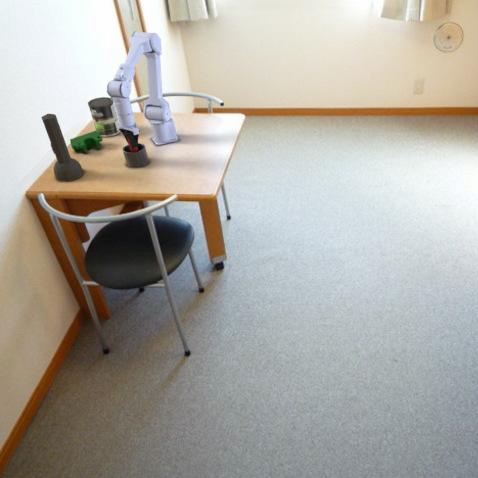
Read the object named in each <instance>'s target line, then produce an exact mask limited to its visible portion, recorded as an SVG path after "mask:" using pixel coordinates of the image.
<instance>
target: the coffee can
mask: <svg viewBox="0 0 478 478" xmlns="http://www.w3.org/2000/svg"><path fill="white" fill-rule="evenodd" d="M87 106H88V108H89V112H90V115H91V117H92V121H93V125H94V128H95V131H97V132H98V133H99V134H100V135H101V136H102V138H109V137H113V136H117V135H118V134H120V133H121V131H120V130H119V129H118V128H117V126H118V125H119V123H118V120H117V119H118V116H117V113H116V109H115V105H114V102H113V101H112V100H111V97H108V96H107V97H106V96H102V97H96V98H92V99H90V100H89V101H88V102H87Z"/></svg>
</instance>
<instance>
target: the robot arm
mask: <svg viewBox="0 0 478 478" xmlns="http://www.w3.org/2000/svg"><path fill="white" fill-rule="evenodd" d="M129 44H130V47H129V50H128V53H127V56H126V59H125V60H124V62H123V63H120V65H119V66H118V69H117V70H116V72H115V75H114V77H113V78H112V80H110V81H109V82H108V83H107V85H106V93H107V95H108V96H109V98H111V100H112V101H113V103H114V106H115V110H116V114H117V118H118V119H117V120H118V123H119V125H118V126H117V128H118V129H119V130H120V133H121V134H122V135H123V137H124V139H125V141H126V143H127V145H129V142H128V139H129V141H130V144H131V146H132V148H135V147H138V143H139V136H140V134H141V130H140V129H139V127H138V126H137V122H136V119H135V116H134V111H133V106H132V104H131V103H132V102H131V100H130V95H131V93H132V84H131V83H132V82H133V80H134V77H135V75H136V69H135V67H136V66H137V64H138V62H139V60H140V59H141V57H142V55H143V56H144V57H146V69H147V81H148V82H147V83H148V98H147V99H146V100H145V101H144V108H143V115H144V118H145V119H146V120H147V121H148V123H150V126H151V131H152V136H153V137H151V139H152V141H153V142H154V144H155V145H156V146H161V145H165V144H169V143H173V142H178V141H179V137H178V133H177V128H176V123H175V121H174V119H173V118H172V110H171V108H170V102H168V101H167V99H165V98H163V97H164V96H163V81H162V65H161V64H162V62H161V55H162V53H163V52H162V51H163V49H162V38H161V37H160V35H159V34H158V33H157V32H145V31H143V32H142V31H136V30H135V31H134V30H133V31H132V32H131V34H130V36H129ZM125 130H129V131H126V132H125ZM127 138H128V139H127Z"/></svg>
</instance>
